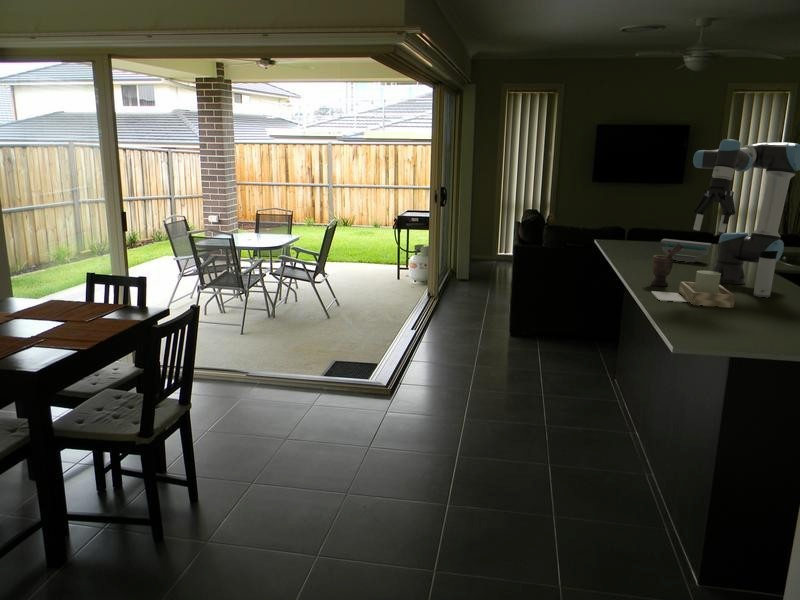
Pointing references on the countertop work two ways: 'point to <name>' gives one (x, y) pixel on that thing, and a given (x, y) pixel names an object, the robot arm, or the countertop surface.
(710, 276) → the can
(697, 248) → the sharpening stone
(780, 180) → the robot arm
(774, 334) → the countertop surface
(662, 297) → the mat
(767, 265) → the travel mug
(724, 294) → the wooden frame
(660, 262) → the mortar and pestle
